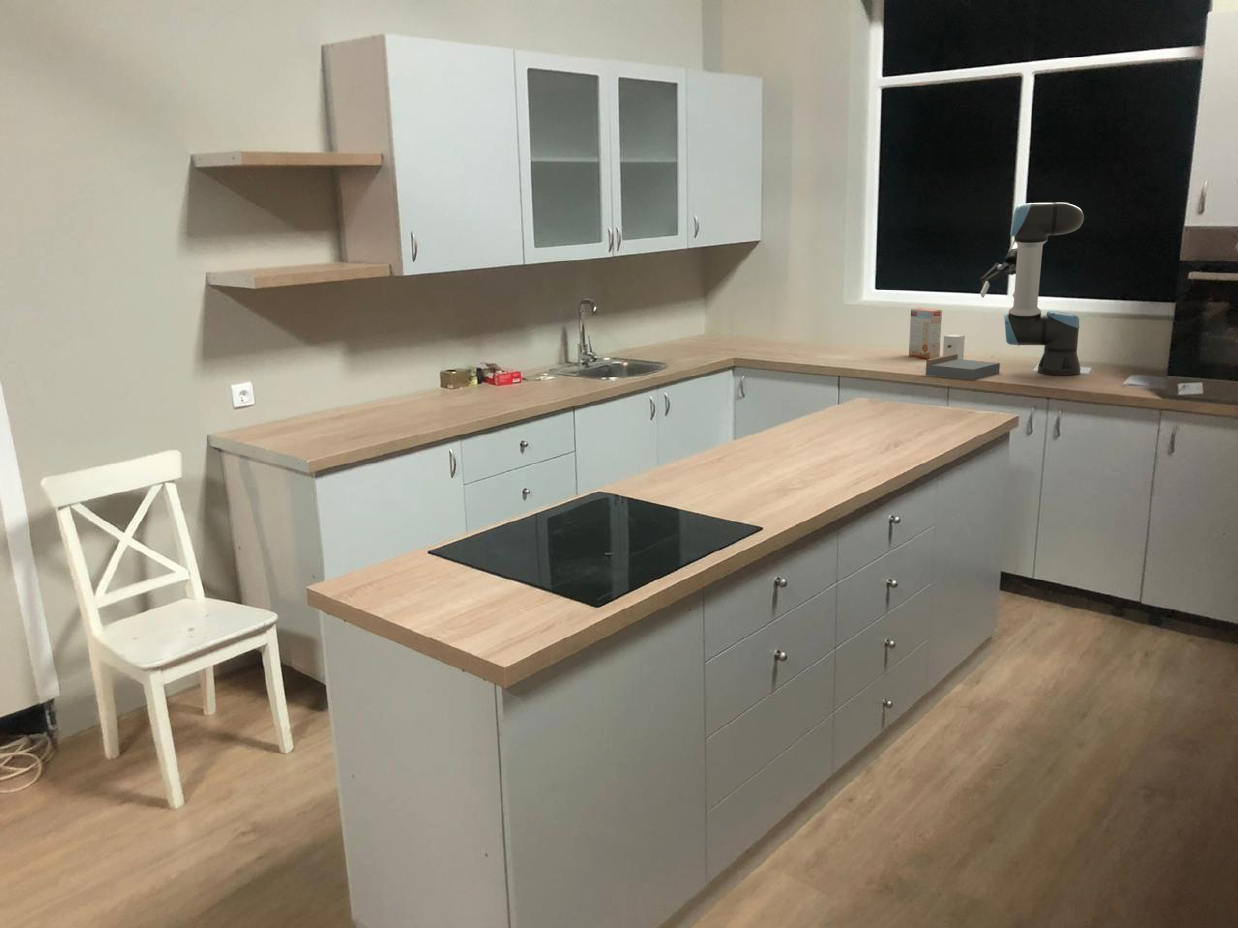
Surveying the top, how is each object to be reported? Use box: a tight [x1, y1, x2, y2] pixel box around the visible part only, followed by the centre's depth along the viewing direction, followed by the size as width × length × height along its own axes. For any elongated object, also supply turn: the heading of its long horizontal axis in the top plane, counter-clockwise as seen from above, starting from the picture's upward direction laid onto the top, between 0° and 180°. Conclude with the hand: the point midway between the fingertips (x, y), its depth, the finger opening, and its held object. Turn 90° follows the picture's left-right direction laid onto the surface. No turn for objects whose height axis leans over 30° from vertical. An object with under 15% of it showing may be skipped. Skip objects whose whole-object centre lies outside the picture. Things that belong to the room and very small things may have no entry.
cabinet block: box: [942, 334, 966, 360], centre depth 405 cm, size 6×7×12 cm
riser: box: [925, 354, 1001, 381], centre depth 383 cm, size 20×20×6 cm
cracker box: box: [908, 307, 943, 360], centre depth 426 cm, size 14×6×21 cm, turn 22°
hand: (997, 296), depth 399 cm, fingers open, 13 cm apart
